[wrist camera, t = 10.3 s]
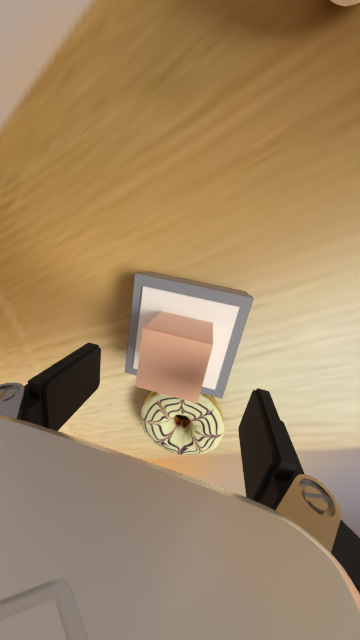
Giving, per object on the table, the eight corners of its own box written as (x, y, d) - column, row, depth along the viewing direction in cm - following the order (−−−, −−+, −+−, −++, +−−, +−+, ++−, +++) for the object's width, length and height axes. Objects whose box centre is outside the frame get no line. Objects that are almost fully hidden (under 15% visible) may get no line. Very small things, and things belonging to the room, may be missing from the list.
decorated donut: (180, 447, 28) (175, 473, 25) (133, 397, 27) (121, 417, 24) (238, 420, 25) (242, 445, 22) (188, 361, 24) (184, 378, 20)
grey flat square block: (148, 271, 21) (134, 273, 17) (245, 291, 20) (254, 298, 16) (138, 355, 25) (123, 373, 21) (220, 376, 24) (222, 400, 20)
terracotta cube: (161, 311, 18) (143, 328, 13) (213, 322, 17) (213, 345, 13) (154, 356, 19) (135, 386, 15) (201, 368, 19) (197, 403, 14)
